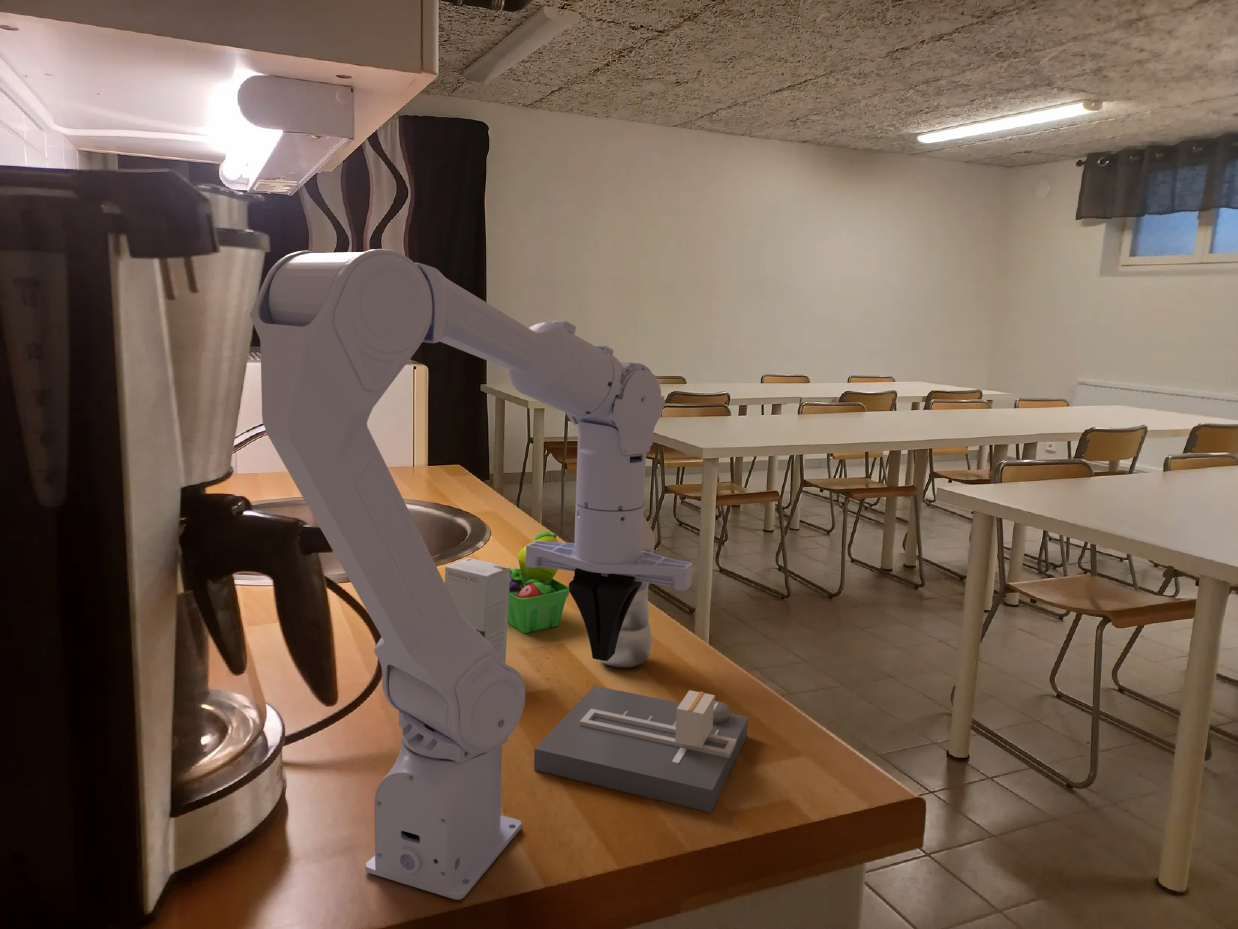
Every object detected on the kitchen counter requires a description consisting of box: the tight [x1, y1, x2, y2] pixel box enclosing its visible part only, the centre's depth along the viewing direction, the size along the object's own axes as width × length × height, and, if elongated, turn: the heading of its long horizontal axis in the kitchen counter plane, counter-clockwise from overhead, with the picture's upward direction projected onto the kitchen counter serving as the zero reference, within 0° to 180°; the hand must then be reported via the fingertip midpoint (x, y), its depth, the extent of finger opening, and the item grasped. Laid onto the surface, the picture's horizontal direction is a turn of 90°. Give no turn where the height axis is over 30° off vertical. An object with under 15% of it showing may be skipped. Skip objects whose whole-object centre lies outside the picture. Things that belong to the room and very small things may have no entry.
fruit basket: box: [507, 530, 570, 634], centre depth 111 cm, size 11×9×11 cm
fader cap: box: [675, 689, 715, 748], centre depth 77 cm, size 4×2×4 cm, turn 160°
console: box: [533, 685, 749, 813], centre depth 79 cm, size 14×16×3 cm
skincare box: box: [444, 557, 511, 664], centre depth 94 cm, size 6×4×12 cm
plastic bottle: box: [599, 492, 656, 668], centre depth 97 cm, size 6×7×20 cm
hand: (603, 655), depth 75 cm, fingers closed
